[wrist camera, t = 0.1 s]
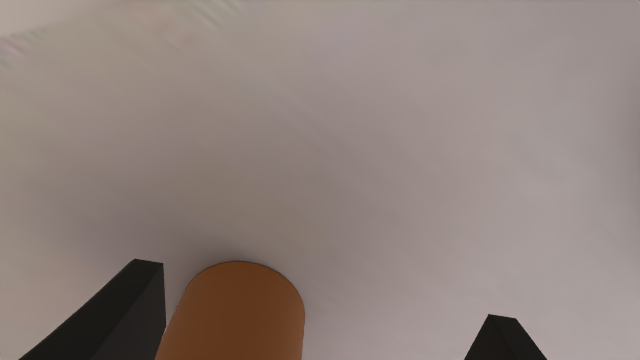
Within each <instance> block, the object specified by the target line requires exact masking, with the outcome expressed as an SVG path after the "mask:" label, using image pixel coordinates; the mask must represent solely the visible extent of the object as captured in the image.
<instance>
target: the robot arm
mask: <svg viewBox="0 0 640 360" xmlns="http://www.w3.org/2000/svg"><path fill="white" fill-rule="evenodd" d="M165 327H166V312H165V291H164V269H163V263H159V262H152V261H146V260H140V259H134V260H132V261H131V262H129V263H128V264H127V265H126V266H125V267H124V268H123V269H122V270H121V271H120V272H119V273H118V274H117V275H116V276H115V277H114V278H113V279H111V280H110V281H109V282H108V283H107V284H106V285H105V286H104V287H103V288H102V289H101V290H100V291H99V292H97V293H96V294H95V295H94V296H93V297H92V298H91V299H90V300H89V301H87V302H86V303H85V304H84V305H83V306H82V307H81V308H80V309H79V310H77V311H76V312H75V313H74V314H73V315H72V316H70V317H69V318H68V319H67V320H66V321H65V322H63V323H62V324H61V325H60V326H59V327H58V328H57V329H55V330H54V331H53V332H52V333H51V334H50V335H48V336H47V337H46V338H45V339H44V340H42V341H41V342H40V343H39V344H38V345H36V346H35V347H34V348H33V349H31V350H30V351H29V352H27V353H26V354H25V355H24V356H22V357H21V358H20V359H19V360H155V357H156V354H157V351H158V348H159V345H160V342H161V339H162V336H163V333H164V330H165ZM464 360H547V359H546V357H545V356H544V355H543V353H542V352H541V351H540V350H539V348H538V347H537V346H536V344H535V343H534V342H533V340H532V339H531V338H530V336H529V335H528V334H527V332H526V331H525V330H524V328H523V327H522V326H521V325H520V323H519V322H518V321H517V320H516V318H510V317H504V316H497V315H491V314H488V316H487V318H486V320H485V322H484V324H483V326H482V327H481V329H480V331H479V333H478V335H477V337H476V338H475V340H474V342H473V344H472V346H471V348H470V350H469V351H468V353H467V355H466V357H465V359H464Z"/></svg>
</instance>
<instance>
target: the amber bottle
mask: <svg viewBox="0 0 640 360" xmlns="http://www.w3.org/2000/svg"><path fill="white" fill-rule="evenodd" d="M304 323H305V310H304V305H303V302H302V299H301V297H300V295H299V293H298V292H297V290H296V289H295V288H294V286H293V285H292V284H291V283H290V282H289V281H288V280H287V279H286V278H285V277H283V276H282V275H280V274H279V273H277V272H275V271H274V270H272V269H270V268H267V267H265V266H262V265H258V264H255V263H249V262H227V263H222V264H218V265H215V266H212V267H210V268H208V269H206V270H204V271H203V272H201V273H200V274H198V275H197V276H196V277H195V278H194V279H193V280H192V281H191V282H190V283H189V285H188V287H187V288H186V290H185V292H184V294H183V296H182V298H181V300H180V302H179V305H178V307H177V309H176V311H175V313H174V315H173V317H172V319H171V321H170V323H169V325H168V327H167V329H166V331H165V333H164V336H163V338H162V340H161V342H160V345H159V348H158V351H157V354H156V357H155V360H301V357H302V346H303V334H304Z"/></svg>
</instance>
